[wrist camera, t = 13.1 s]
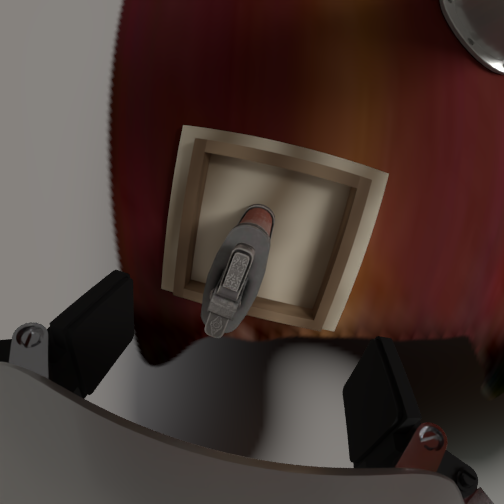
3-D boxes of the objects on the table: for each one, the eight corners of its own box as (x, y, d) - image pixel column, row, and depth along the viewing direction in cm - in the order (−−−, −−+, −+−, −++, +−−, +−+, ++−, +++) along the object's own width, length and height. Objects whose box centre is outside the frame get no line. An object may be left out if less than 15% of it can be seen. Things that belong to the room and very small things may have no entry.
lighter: (250, 291, 26) (230, 362, 17) (216, 278, 26) (181, 343, 17) (283, 212, 23) (281, 252, 14) (245, 197, 23) (217, 227, 14)
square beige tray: (384, 172, 22) (397, 175, 19) (332, 324, 28) (336, 343, 25) (187, 126, 23) (174, 122, 20) (165, 283, 28) (153, 297, 25)
